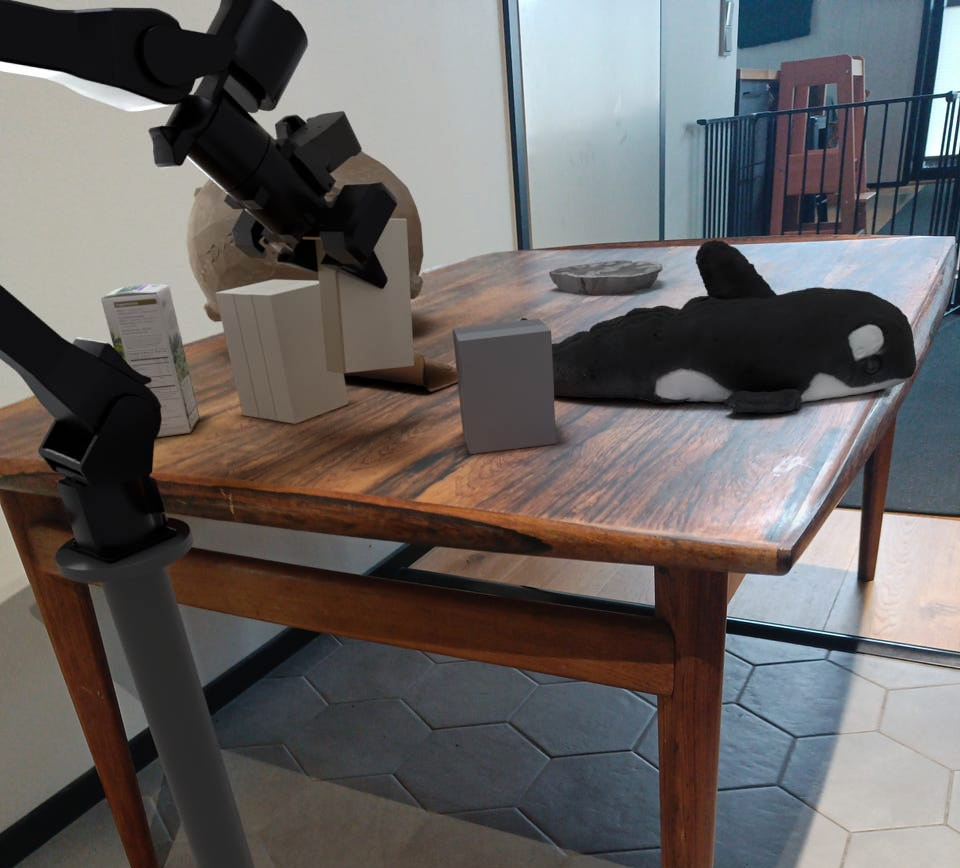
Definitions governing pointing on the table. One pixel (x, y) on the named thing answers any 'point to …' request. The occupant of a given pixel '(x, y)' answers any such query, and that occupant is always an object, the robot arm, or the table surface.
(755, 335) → the orca plush
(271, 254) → the ceramic pot
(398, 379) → the sunglasses case
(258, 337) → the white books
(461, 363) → the grey box
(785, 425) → the table surface
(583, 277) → the grey stone slab
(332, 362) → the book
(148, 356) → the syrup box
